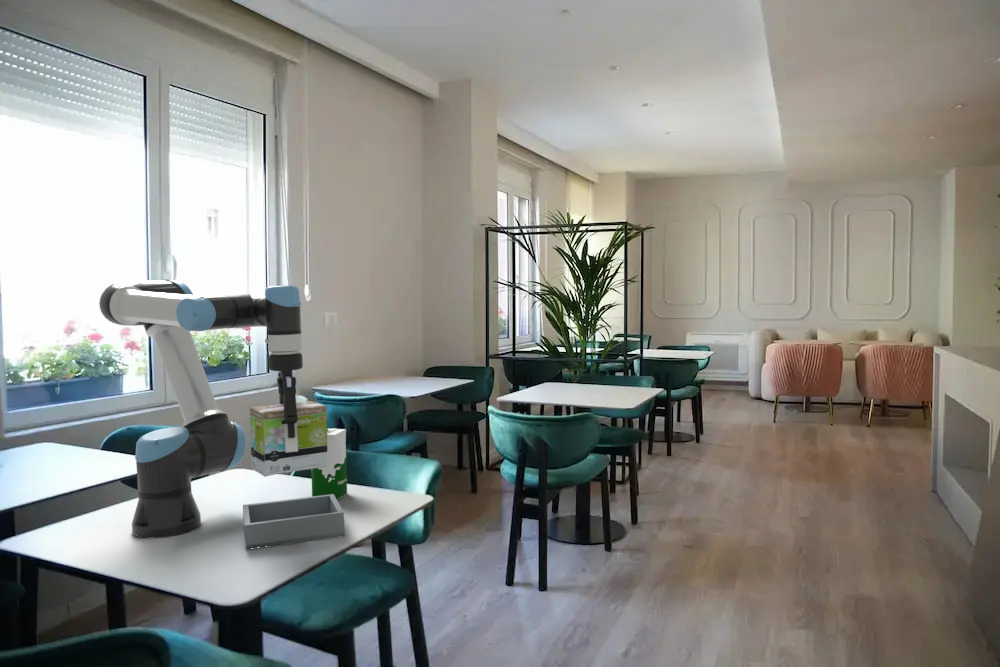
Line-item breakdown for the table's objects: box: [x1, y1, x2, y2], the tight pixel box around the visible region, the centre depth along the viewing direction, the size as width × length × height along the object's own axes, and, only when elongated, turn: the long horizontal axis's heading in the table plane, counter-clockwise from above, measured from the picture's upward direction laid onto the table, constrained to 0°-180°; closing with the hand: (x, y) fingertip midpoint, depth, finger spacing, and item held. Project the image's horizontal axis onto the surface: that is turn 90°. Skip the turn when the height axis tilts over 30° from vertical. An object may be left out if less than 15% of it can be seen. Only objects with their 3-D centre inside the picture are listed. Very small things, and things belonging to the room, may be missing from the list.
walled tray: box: [242, 494, 345, 550], centre depth 173 cm, size 16×21×6 cm
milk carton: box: [310, 427, 348, 500], centre depth 201 cm, size 9×9×20 cm
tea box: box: [249, 400, 328, 478], centre depth 171 cm, size 15×10×15 cm
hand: (289, 446), depth 172 cm, fingers closed on tea box, 11 cm apart
